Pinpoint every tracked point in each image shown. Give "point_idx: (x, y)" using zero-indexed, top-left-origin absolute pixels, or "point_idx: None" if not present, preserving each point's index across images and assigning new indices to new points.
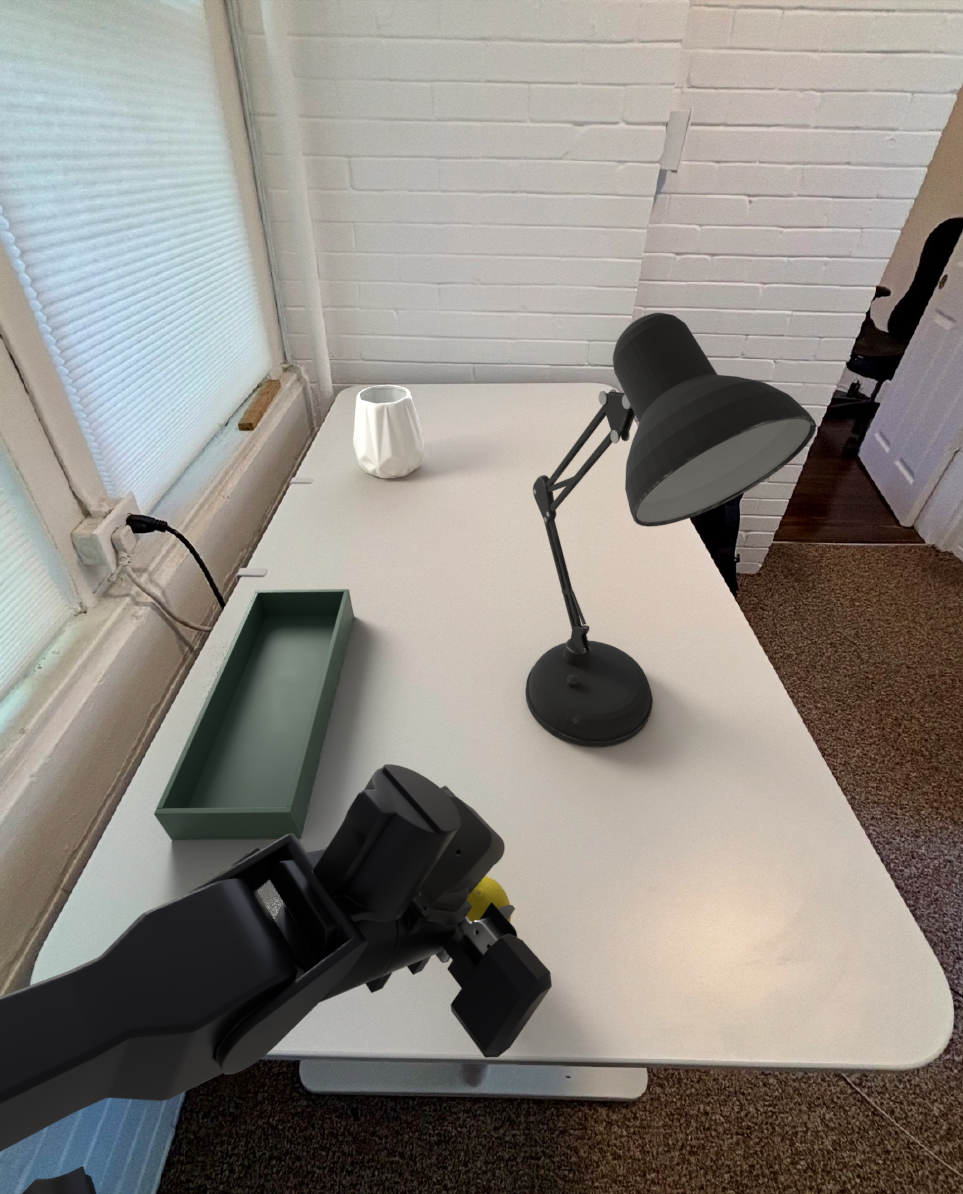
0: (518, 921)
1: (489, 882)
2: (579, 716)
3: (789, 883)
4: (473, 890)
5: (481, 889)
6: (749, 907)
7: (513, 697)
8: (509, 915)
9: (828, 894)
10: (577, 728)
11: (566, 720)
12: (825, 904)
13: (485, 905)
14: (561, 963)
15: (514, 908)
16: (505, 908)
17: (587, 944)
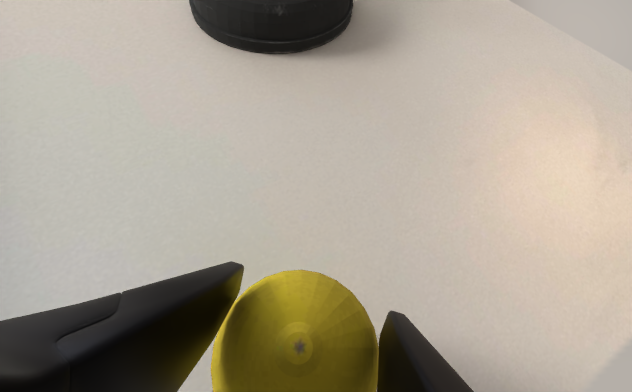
0: None
1: (303, 289)
2: (282, 3)
3: (569, 96)
4: (276, 346)
5: (300, 330)
6: (560, 133)
7: (182, 30)
8: (460, 378)
9: (601, 91)
10: (286, 22)
11: (267, 15)
12: (606, 100)
13: (334, 365)
14: (437, 317)
15: (407, 318)
16: (421, 355)
17: (449, 268)
